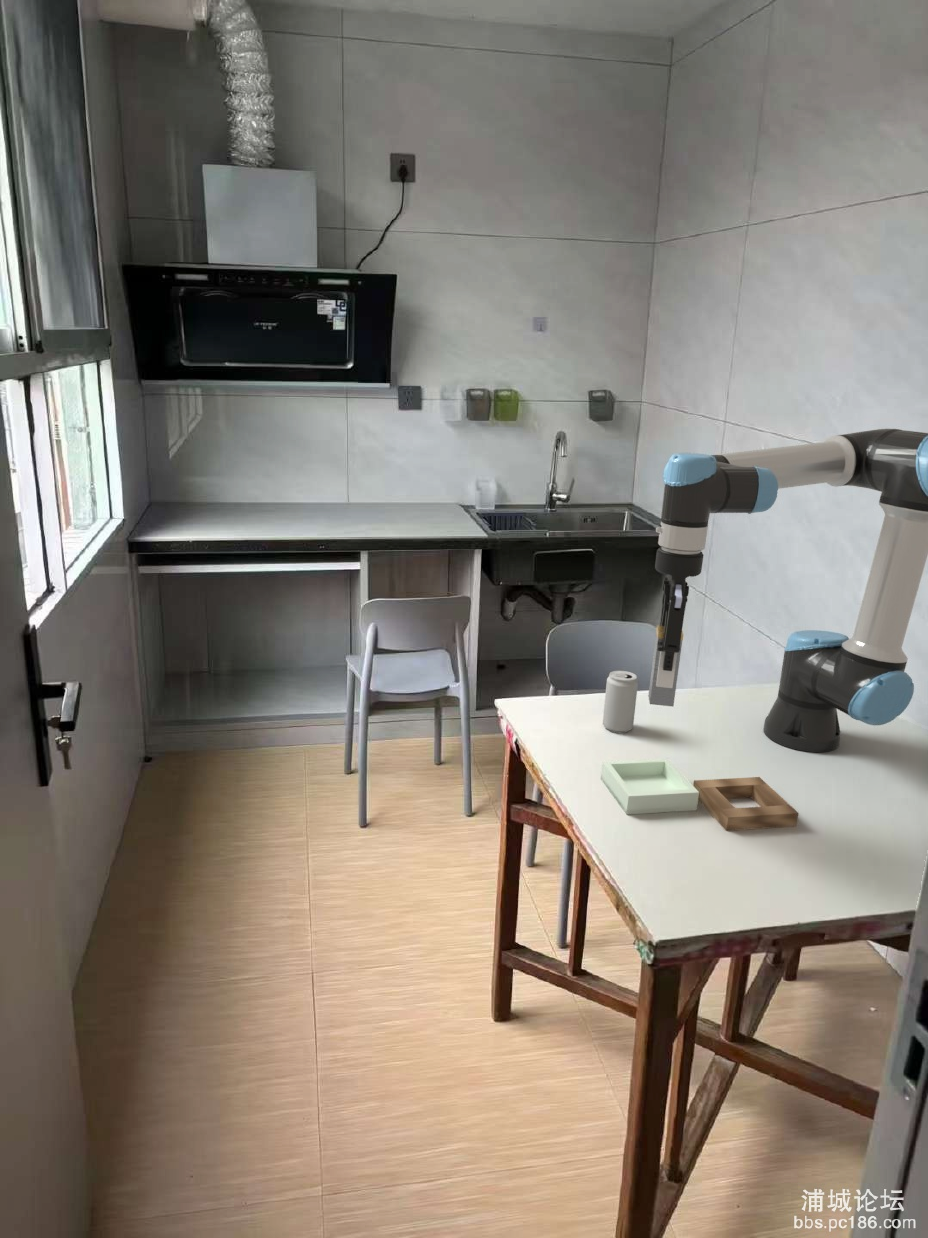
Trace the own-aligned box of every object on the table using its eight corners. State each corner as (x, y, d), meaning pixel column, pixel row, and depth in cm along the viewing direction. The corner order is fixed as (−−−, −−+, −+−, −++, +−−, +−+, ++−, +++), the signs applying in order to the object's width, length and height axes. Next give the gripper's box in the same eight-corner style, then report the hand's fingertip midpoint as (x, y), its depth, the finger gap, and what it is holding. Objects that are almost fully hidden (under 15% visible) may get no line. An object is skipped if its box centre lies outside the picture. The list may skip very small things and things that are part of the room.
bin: (665, 775, 163) (668, 758, 162) (696, 810, 151) (699, 792, 150) (600, 778, 161) (602, 761, 160) (626, 814, 149) (628, 796, 148)
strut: (648, 695, 153) (656, 625, 149) (671, 697, 152) (681, 627, 148) (649, 704, 149) (658, 632, 145) (673, 706, 148) (683, 634, 144)
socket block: (757, 789, 160) (759, 776, 159) (796, 826, 148) (798, 813, 147) (692, 792, 157) (693, 780, 157) (726, 830, 145) (728, 817, 144)
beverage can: (632, 736, 180) (638, 682, 176) (601, 732, 181) (606, 678, 177) (632, 723, 186) (639, 671, 182) (602, 720, 187) (608, 667, 183)
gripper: (654, 537, 151) (638, 662, 158) (661, 558, 135) (643, 697, 142) (698, 540, 150) (680, 667, 157) (710, 562, 134) (690, 702, 141)
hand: (663, 681), depth 149 cm, fingers closed on strut, 4 cm apart
